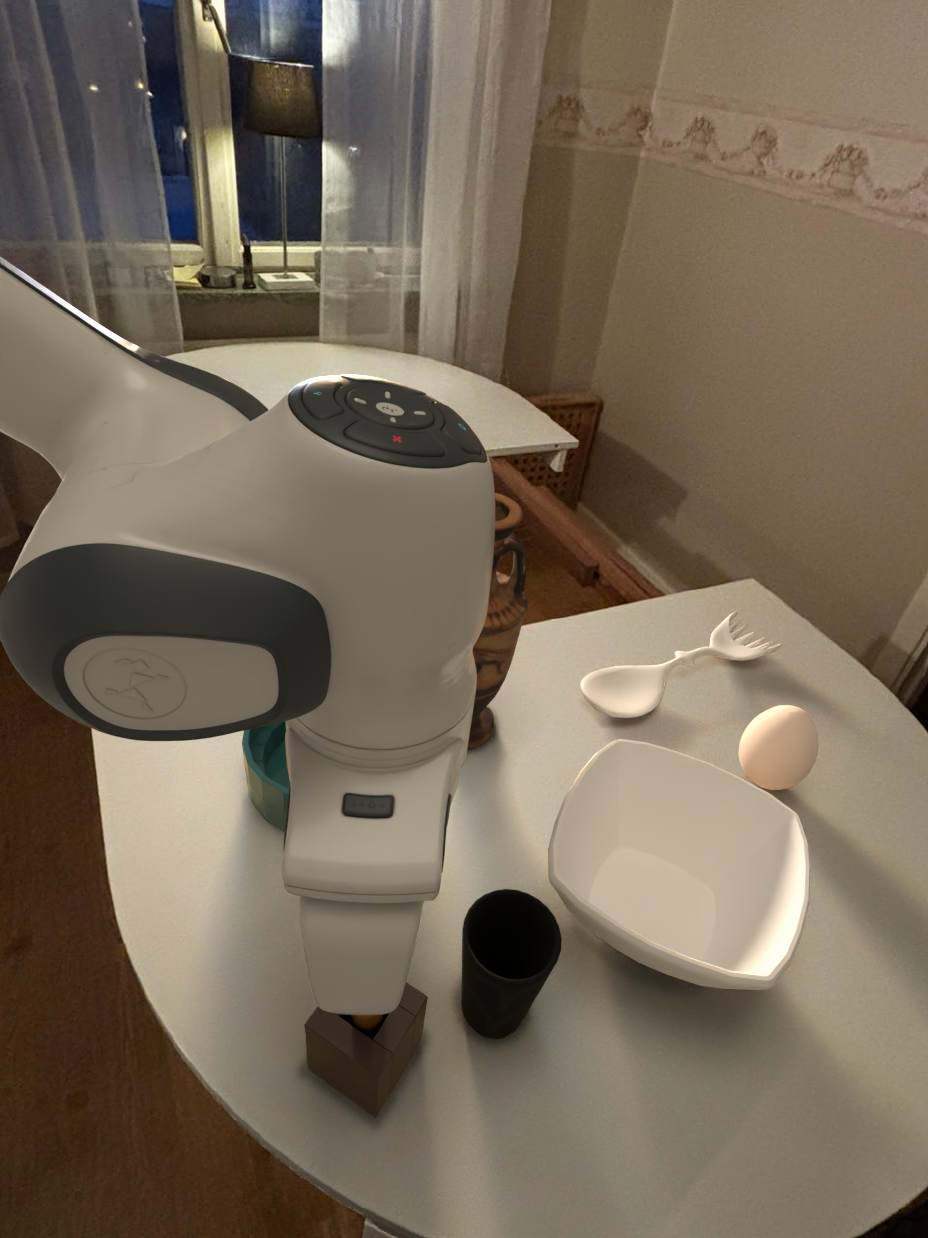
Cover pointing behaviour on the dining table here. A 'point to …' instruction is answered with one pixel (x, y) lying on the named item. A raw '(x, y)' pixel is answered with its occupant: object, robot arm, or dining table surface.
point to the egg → (779, 747)
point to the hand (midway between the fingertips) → (374, 880)
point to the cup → (505, 959)
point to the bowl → (682, 866)
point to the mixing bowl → (267, 770)
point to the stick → (367, 1024)
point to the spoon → (663, 673)
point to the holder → (365, 1050)
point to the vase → (499, 619)
